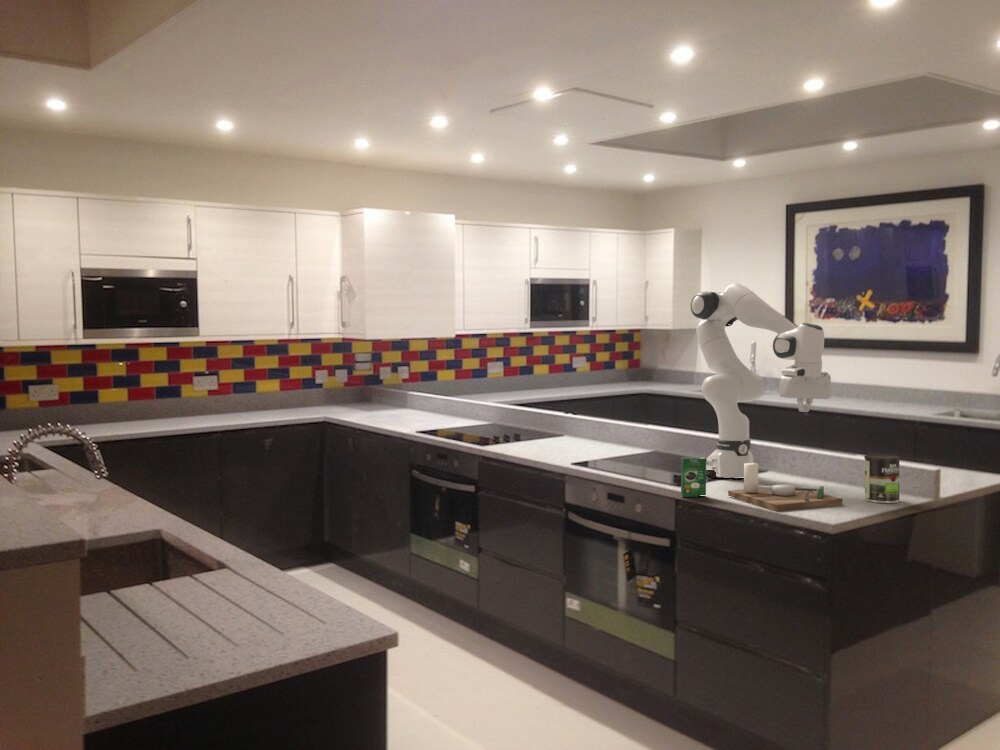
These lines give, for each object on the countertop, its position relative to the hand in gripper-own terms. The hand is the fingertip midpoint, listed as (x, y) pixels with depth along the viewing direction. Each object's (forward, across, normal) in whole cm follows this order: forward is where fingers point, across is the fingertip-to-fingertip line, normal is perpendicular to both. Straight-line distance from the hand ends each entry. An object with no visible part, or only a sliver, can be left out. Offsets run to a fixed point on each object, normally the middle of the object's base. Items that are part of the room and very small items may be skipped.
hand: (803, 411), depth 291 cm
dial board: (+27, +18, +14) cm, 35 cm away
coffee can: (+25, -9, +28) cm, 39 cm away
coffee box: (+30, +38, -6) cm, 49 cm away
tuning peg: (+25, +18, +13) cm, 34 cm away
